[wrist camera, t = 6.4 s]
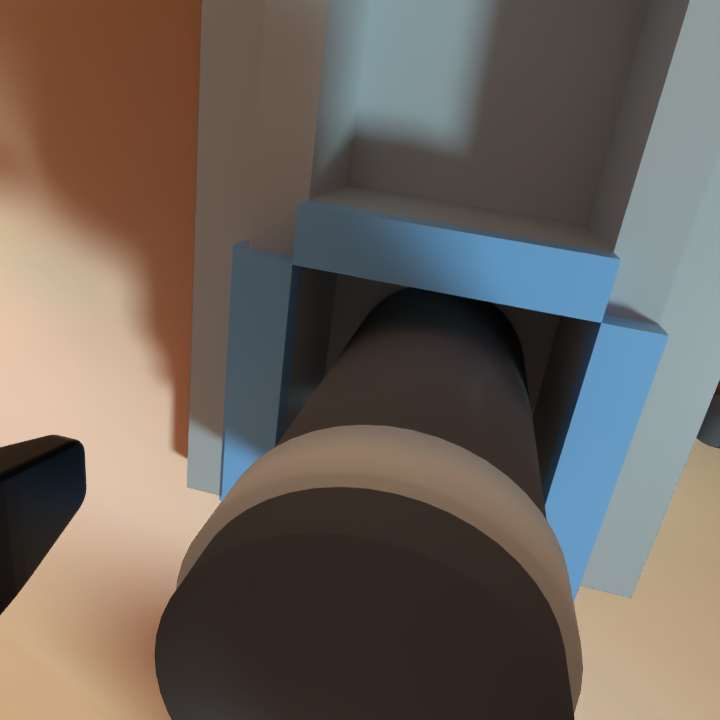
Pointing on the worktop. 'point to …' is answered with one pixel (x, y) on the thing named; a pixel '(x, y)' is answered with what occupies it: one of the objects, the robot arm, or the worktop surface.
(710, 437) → the rod
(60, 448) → the robot arm
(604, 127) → the narrow cubby shelf
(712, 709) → the worktop surface
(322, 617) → the dark grey cylinder
